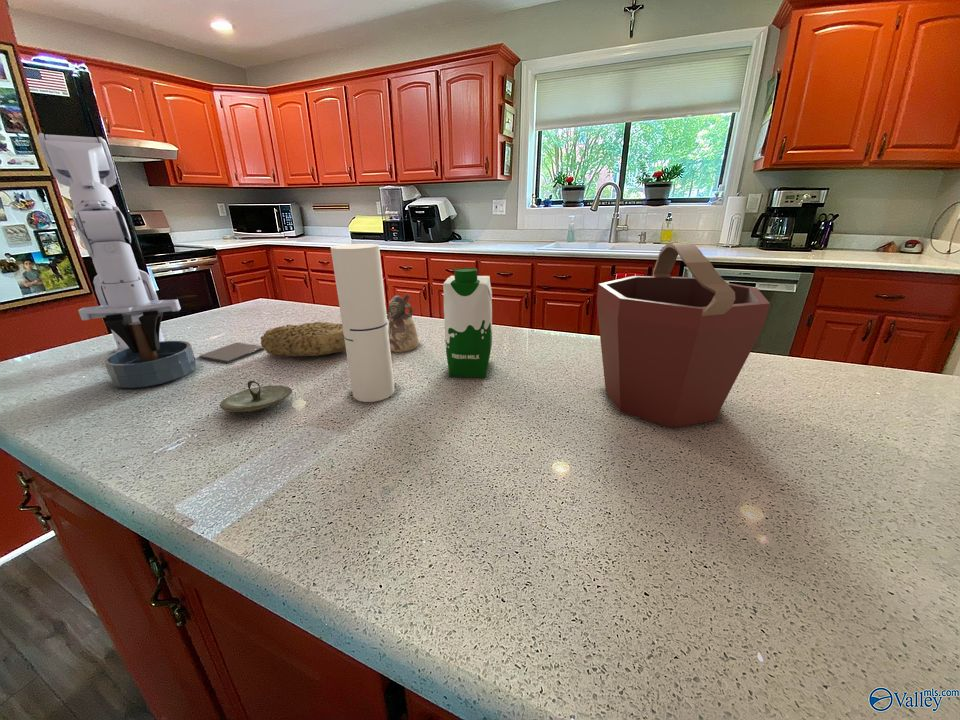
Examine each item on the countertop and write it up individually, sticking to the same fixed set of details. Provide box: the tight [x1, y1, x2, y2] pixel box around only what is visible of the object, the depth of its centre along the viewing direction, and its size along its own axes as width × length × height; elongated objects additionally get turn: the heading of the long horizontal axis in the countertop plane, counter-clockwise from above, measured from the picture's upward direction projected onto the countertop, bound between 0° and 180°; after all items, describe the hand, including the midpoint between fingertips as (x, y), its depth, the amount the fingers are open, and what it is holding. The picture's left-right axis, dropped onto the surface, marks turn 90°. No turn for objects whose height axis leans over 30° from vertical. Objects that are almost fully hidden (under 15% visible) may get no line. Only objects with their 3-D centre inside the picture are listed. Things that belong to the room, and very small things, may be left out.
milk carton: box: [442, 267, 493, 378], centre depth 75 cm, size 9×9×20 cm
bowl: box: [103, 340, 198, 388], centre depth 77 cm, size 13×13×5 cm
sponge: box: [260, 321, 346, 357], centre depth 87 cm, size 13×8×20 cm
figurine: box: [386, 293, 419, 353], centre depth 89 cm, size 7×7×12 cm
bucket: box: [596, 242, 771, 429], centre depth 61 cm, size 24×22×25 cm
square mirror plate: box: [199, 342, 264, 364], centre depth 89 cm, size 9×9×1 cm
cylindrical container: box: [330, 243, 395, 403], centre depth 65 cm, size 7×7×25 cm
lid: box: [219, 380, 293, 413], centre depth 65 cm, size 11×10×5 cm
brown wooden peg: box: [128, 321, 159, 362], centre depth 76 cm, size 3×3×9 cm
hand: (146, 350), depth 77 cm, fingers closed on brown wooden peg, 2 cm apart
